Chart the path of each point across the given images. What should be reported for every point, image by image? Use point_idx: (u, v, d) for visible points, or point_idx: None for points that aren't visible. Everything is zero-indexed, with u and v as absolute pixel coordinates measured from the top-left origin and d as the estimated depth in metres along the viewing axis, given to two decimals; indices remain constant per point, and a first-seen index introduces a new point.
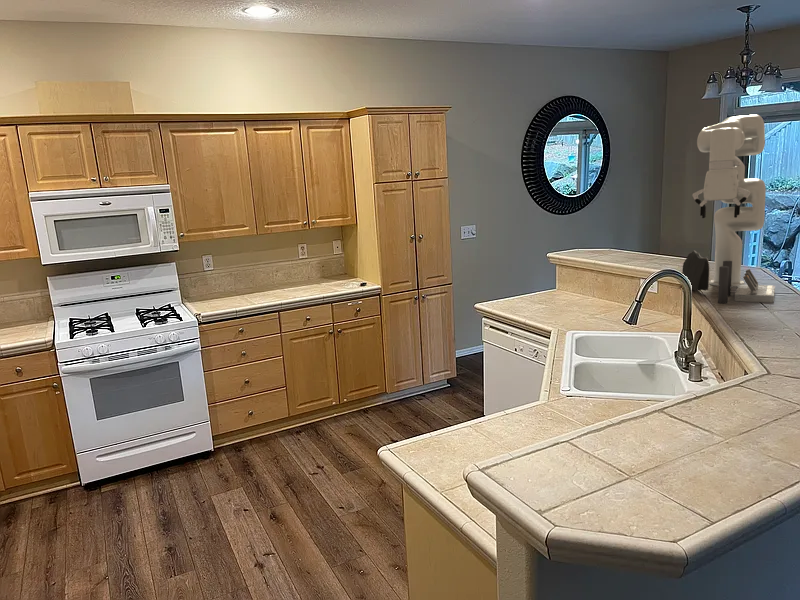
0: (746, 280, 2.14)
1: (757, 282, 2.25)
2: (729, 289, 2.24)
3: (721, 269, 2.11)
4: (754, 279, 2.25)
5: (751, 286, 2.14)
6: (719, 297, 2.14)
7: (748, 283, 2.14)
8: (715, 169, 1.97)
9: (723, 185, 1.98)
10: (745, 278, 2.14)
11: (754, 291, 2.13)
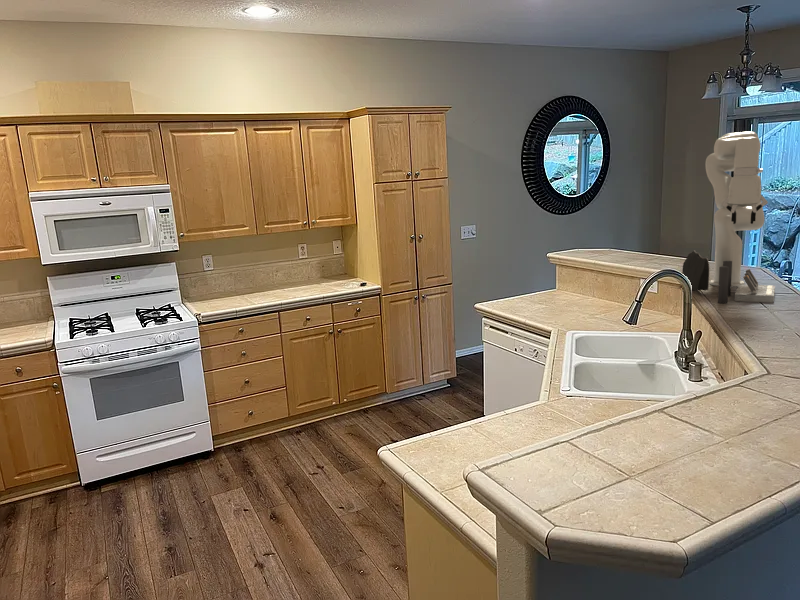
0: (746, 280, 2.14)
1: (757, 282, 2.25)
2: (729, 289, 2.24)
3: (721, 269, 2.11)
4: (754, 279, 2.25)
5: (751, 286, 2.14)
6: (719, 297, 2.14)
7: (748, 283, 2.14)
8: (740, 175, 2.12)
9: (747, 190, 2.12)
10: (745, 278, 2.14)
11: (754, 291, 2.13)
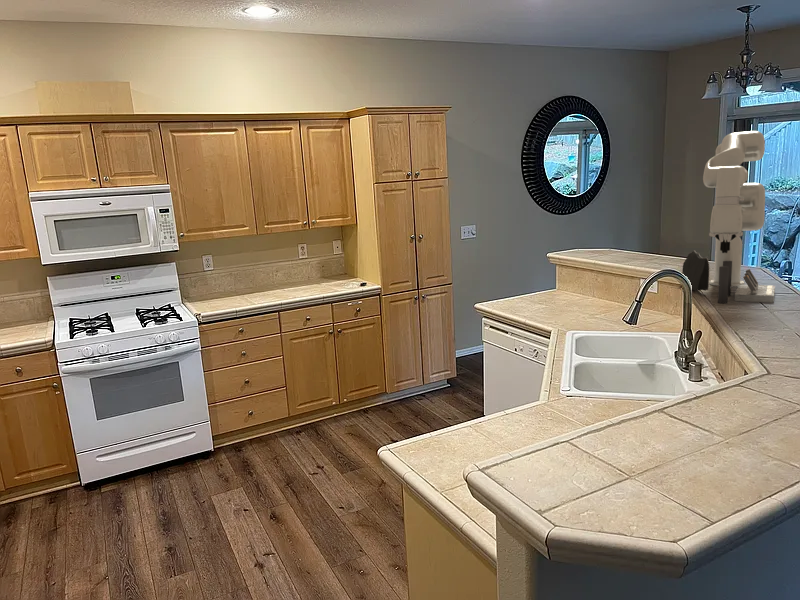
0: (746, 280, 2.14)
1: (757, 282, 2.25)
2: (729, 289, 2.24)
3: (721, 269, 2.11)
4: (754, 279, 2.25)
5: (751, 286, 2.14)
6: (719, 297, 2.14)
7: (748, 283, 2.14)
8: (721, 204, 2.11)
9: (728, 219, 2.12)
10: (745, 278, 2.14)
11: (754, 291, 2.13)
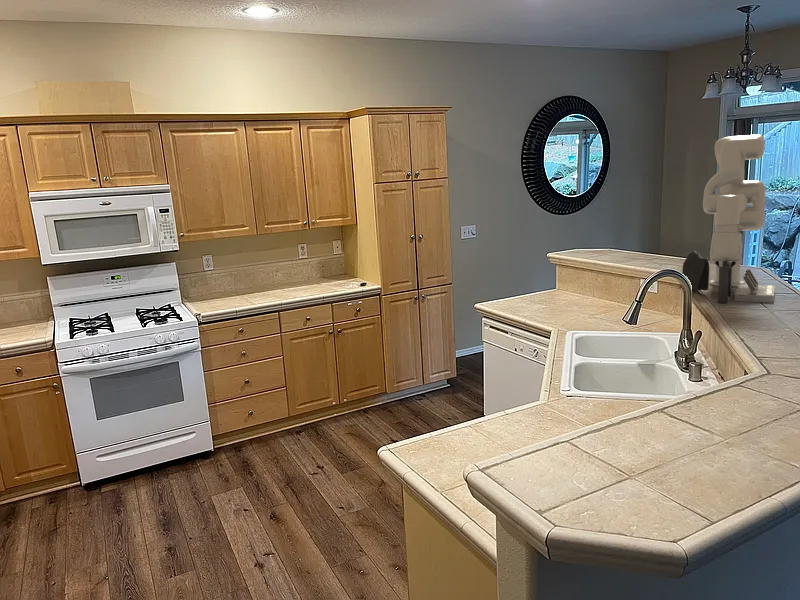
0: (746, 280, 2.14)
1: (757, 282, 2.25)
2: (729, 289, 2.24)
3: (721, 269, 2.11)
4: (754, 279, 2.25)
5: (751, 286, 2.14)
6: (719, 297, 2.14)
7: (748, 283, 2.14)
8: (721, 232, 2.13)
9: (728, 247, 2.14)
10: (745, 278, 2.14)
11: (754, 291, 2.13)
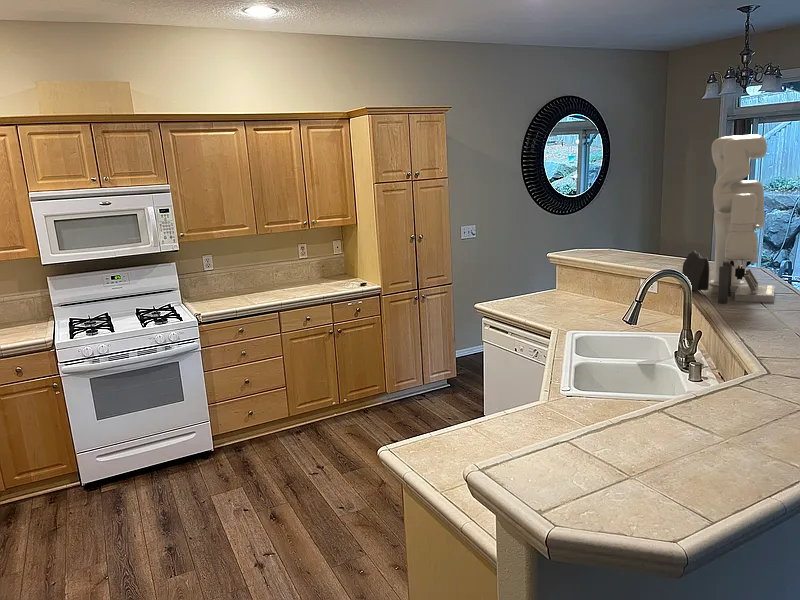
0: (747, 280, 2.14)
1: (757, 282, 2.25)
2: (729, 289, 2.24)
3: (721, 269, 2.11)
4: (754, 279, 2.25)
5: (751, 286, 2.13)
6: (719, 297, 2.14)
7: (749, 283, 2.14)
8: (736, 231, 2.11)
9: (743, 246, 2.11)
10: (746, 278, 2.14)
11: (754, 291, 2.13)
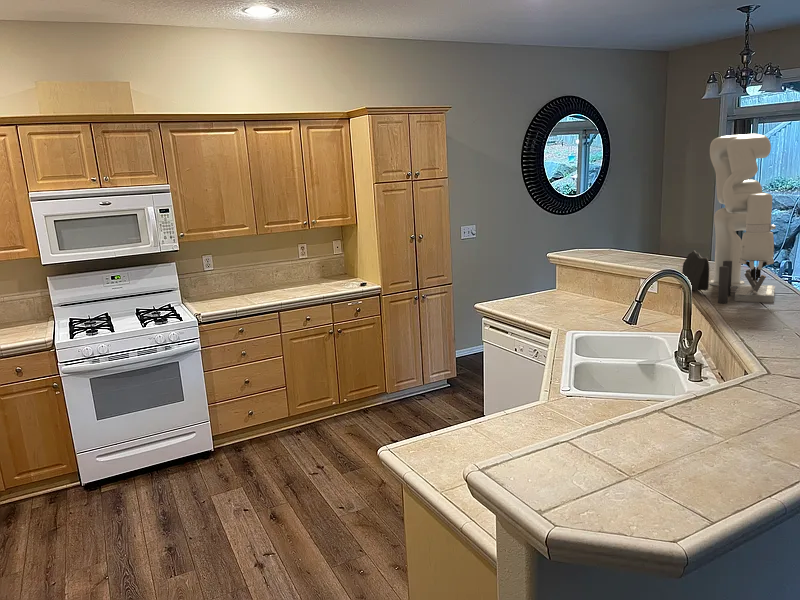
0: (760, 279, 2.12)
1: None
2: (729, 289, 2.24)
3: (721, 269, 2.11)
4: None
5: (758, 286, 2.12)
6: (719, 297, 2.14)
7: (759, 282, 2.12)
8: (752, 232, 2.08)
9: (759, 247, 2.09)
10: (762, 277, 2.11)
11: (755, 291, 2.13)
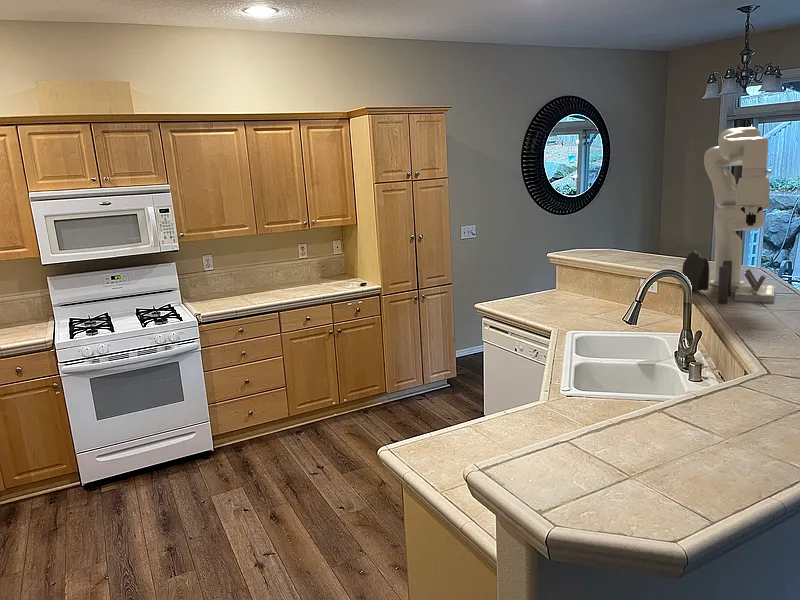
0: (760, 279, 2.12)
1: None
2: (729, 289, 2.24)
3: (721, 269, 2.11)
4: (754, 279, 2.25)
5: (758, 286, 2.12)
6: (719, 297, 2.14)
7: (759, 282, 2.12)
8: (747, 177, 2.09)
9: (754, 192, 2.09)
10: (762, 277, 2.11)
11: (755, 291, 2.13)
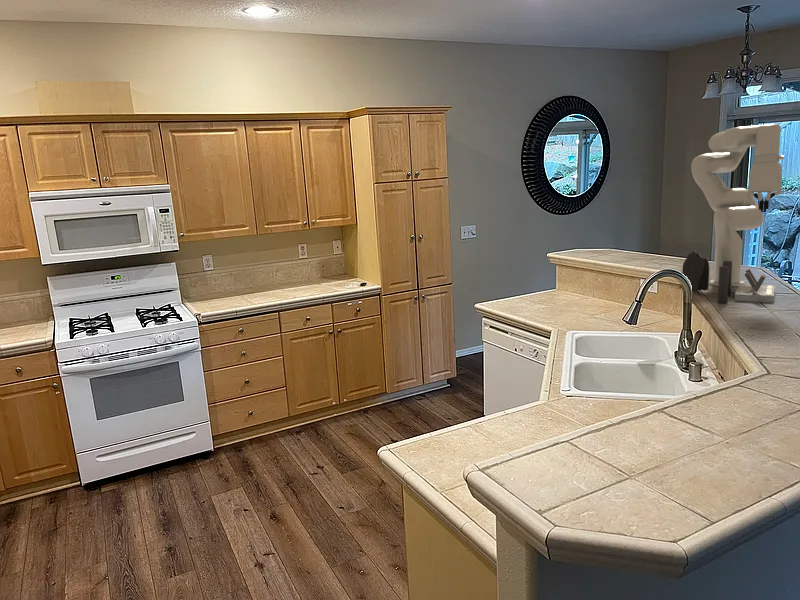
0: (760, 279, 2.12)
1: None
2: (729, 289, 2.24)
3: (721, 269, 2.11)
4: (754, 279, 2.25)
5: (758, 286, 2.12)
6: (719, 297, 2.14)
7: (759, 282, 2.12)
8: (760, 162, 2.11)
9: (767, 177, 2.12)
10: (762, 277, 2.11)
11: (755, 291, 2.13)
